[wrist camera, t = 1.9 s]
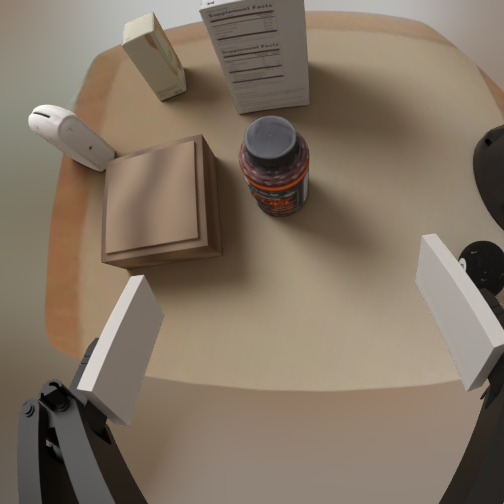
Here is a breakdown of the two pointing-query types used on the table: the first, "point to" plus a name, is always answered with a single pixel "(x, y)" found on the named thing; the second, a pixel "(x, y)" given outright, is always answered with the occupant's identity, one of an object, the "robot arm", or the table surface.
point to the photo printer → (71, 136)
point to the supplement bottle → (275, 165)
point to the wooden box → (161, 206)
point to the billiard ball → (484, 265)
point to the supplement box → (260, 51)
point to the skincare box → (154, 56)
